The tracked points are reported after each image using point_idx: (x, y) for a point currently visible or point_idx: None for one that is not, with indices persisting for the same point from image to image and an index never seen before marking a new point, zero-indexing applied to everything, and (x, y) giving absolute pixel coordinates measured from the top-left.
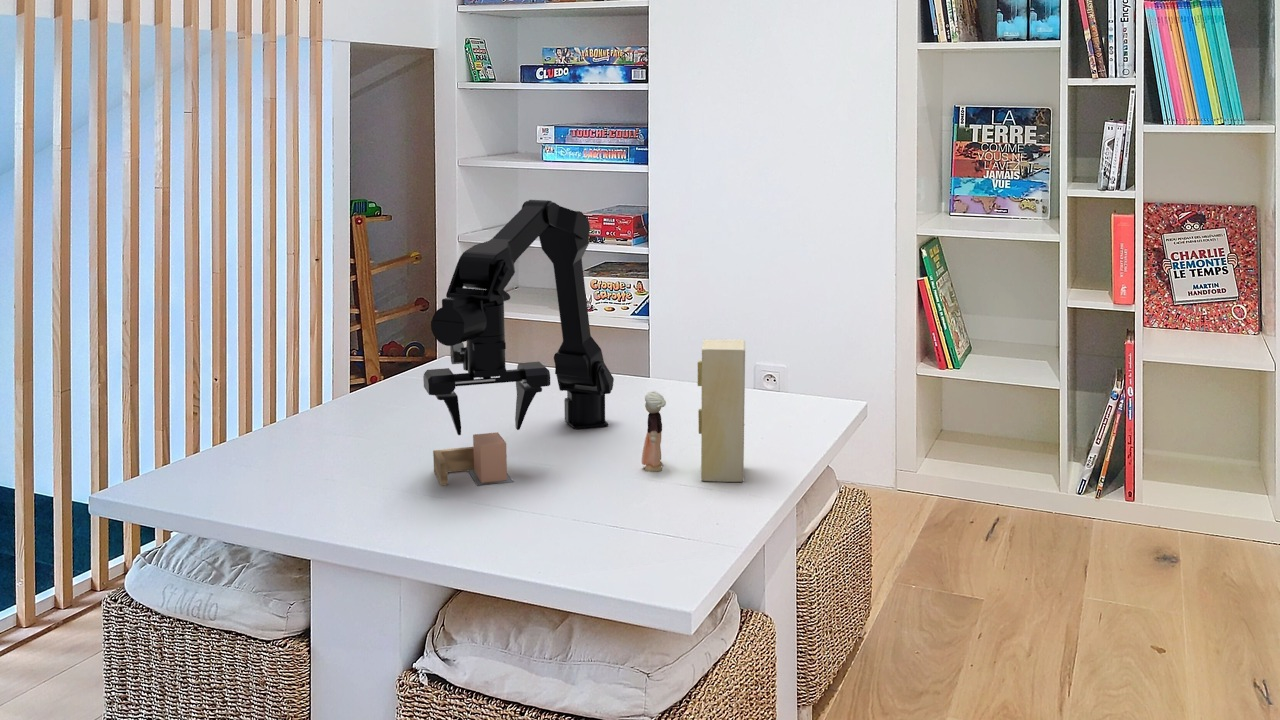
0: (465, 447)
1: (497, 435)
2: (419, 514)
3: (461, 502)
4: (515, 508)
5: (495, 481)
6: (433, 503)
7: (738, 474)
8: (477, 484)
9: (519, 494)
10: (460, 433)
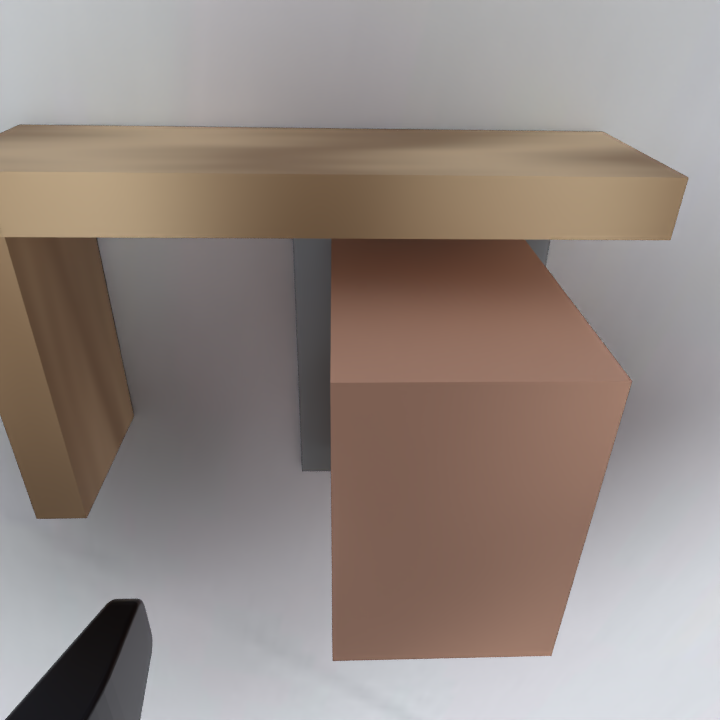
0: (269, 180)
1: (574, 477)
2: (14, 682)
3: (196, 623)
4: (401, 704)
5: None
6: (65, 607)
7: None
8: (304, 464)
9: None
10: (143, 669)
